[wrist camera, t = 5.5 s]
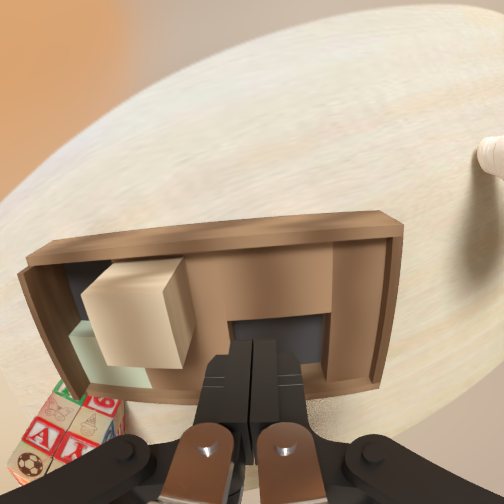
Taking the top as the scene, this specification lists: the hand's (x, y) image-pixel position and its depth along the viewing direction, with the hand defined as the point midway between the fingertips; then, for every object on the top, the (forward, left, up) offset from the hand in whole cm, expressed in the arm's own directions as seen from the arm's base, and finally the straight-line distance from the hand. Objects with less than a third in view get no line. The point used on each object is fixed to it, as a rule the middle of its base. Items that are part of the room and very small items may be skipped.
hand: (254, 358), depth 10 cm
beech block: (+5, 0, -6) cm, 8 cm away
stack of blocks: (+19, +20, -9) cm, 29 cm away
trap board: (+3, +3, -9) cm, 9 cm away
